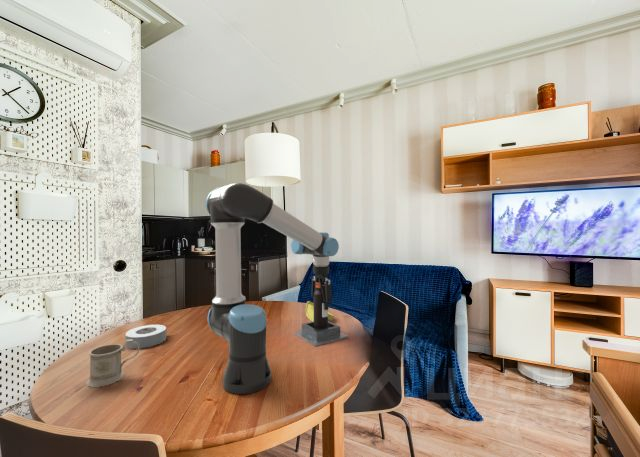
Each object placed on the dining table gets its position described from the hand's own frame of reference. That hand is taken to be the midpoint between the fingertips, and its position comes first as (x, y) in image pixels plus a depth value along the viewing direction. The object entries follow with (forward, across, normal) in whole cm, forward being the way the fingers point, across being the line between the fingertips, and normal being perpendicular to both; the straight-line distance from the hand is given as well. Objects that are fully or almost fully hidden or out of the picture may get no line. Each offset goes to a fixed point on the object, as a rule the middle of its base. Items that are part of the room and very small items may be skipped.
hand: (320, 314), depth 131 cm
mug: (+10, -6, -78) cm, 79 cm away
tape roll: (+10, -36, -68) cm, 78 cm away
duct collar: (+10, 0, 0) cm, 10 cm away
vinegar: (+5, 0, 0) cm, 5 cm away
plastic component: (+10, -23, +14) cm, 29 cm away
